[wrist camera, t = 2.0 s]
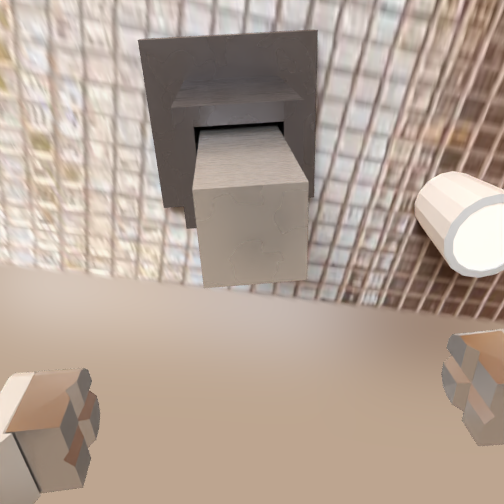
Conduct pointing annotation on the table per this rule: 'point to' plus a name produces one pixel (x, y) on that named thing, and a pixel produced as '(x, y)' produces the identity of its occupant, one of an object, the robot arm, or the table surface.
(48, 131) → the table surface
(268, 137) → the steel post
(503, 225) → the white tapered cup
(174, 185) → the sleeve stand
